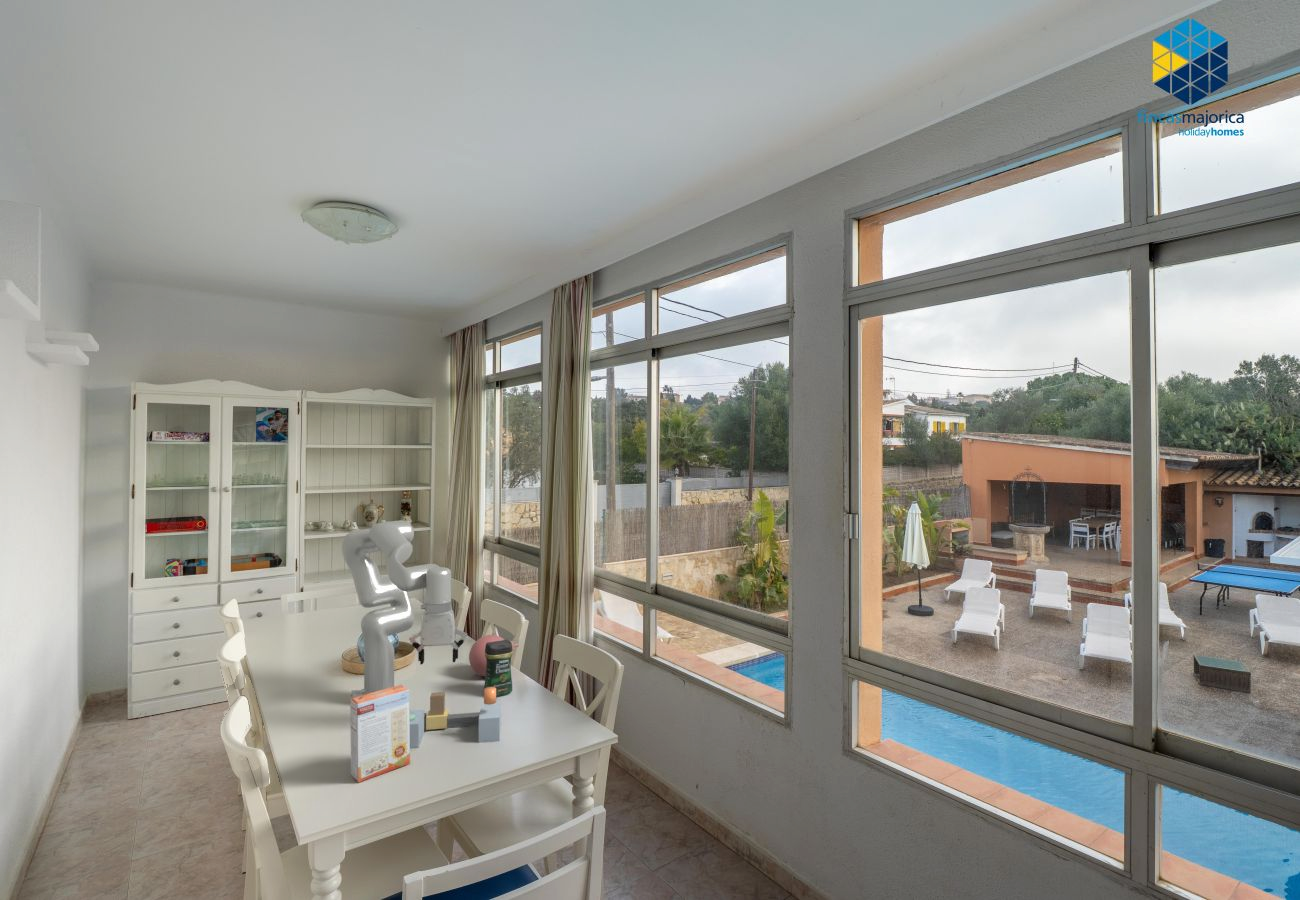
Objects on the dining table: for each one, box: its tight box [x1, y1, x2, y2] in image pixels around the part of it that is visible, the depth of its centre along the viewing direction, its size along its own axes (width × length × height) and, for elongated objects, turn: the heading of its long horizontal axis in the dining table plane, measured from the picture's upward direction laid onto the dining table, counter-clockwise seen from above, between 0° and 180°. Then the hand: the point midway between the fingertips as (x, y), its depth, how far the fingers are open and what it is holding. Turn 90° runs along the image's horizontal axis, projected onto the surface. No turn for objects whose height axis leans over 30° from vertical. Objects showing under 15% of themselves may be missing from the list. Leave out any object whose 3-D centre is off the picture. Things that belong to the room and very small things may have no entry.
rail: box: [424, 711, 480, 731], centre depth 195 cm, size 20×3×4 cm, turn 101°
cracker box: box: [349, 684, 411, 783], centre depth 168 cm, size 14×6×21 cm, turn 134°
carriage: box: [425, 691, 450, 731], centre depth 194 cm, size 6×5×10 cm
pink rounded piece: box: [468, 634, 520, 677], centre depth 239 cm, size 15×20×15 cm
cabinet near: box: [409, 709, 425, 749], centre depth 185 cm, size 7×10×8 cm
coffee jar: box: [483, 639, 514, 698], centre depth 221 cm, size 10×8×19 cm
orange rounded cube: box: [483, 687, 497, 705], centre depth 188 cm, size 4×4×4 cm
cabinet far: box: [478, 703, 502, 743], centre depth 190 cm, size 6×10×7 cm, turn 11°
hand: (438, 662), depth 194 cm, fingers open, 9 cm apart
